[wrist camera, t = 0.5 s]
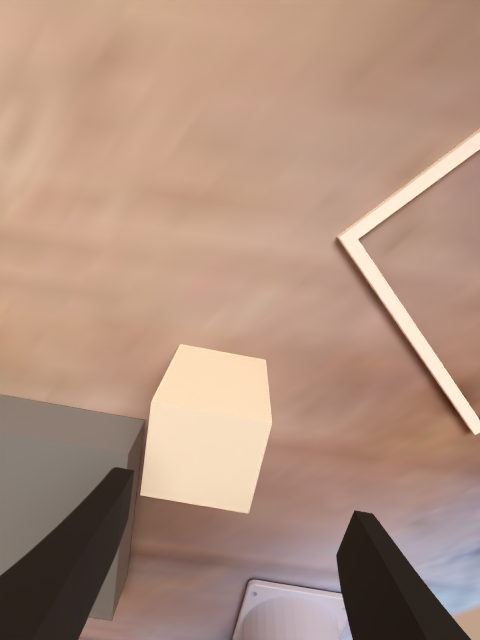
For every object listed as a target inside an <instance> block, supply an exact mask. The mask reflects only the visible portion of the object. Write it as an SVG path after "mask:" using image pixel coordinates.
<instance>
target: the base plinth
mask: <svg viewBox="0 0 480 640" xmlns="http://www.w3.org/2000/svg"><path fill="white" fill-rule="evenodd" d="M144 423H145V420H141V419H136V418H130V417H124V416H119V415H113V414H107V413H101V412H96V411H90V410H84V409H79V408H73V407H67V406H62V405H56V404H50V403H45V402H39V401H33V400H28V399H22V398H16V397H11V396H5V395H0V575H2V574H3V573H4V572H5V571H7V570H8V569H9V568H10V567H11V566H13V565H14V564H15V563H16V562H17V561H19V560H20V559H21V558H22V557H23V556H24V555H26V554H27V553H28V552H29V551H30V550H31V549H32V548H34V547H35V546H36V545H37V544H38V543H39V542H40V541H41V540H42V539H44V538H45V537H46V536H47V535H48V534H49V533H50V532H51V531H52V530H53V529H55V528H56V527H57V526H58V525H59V524H60V523H61V522H62V521H63V520H64V519H65V518H66V517H67V516H68V515H69V514H70V513H71V512H72V511H73V510H74V509H75V508H76V507H77V506H78V505H79V504H80V503H81V502H82V501H83V500H84V499H85V498H86V497H87V496H88V495H89V494H90V493H91V492H92V491H93V490H94V488H95V487H96V486H97V485H98V484H99V483H100V482H101V481H102V480H103V478H104V477H105V476H106V475H107V474H108V473H109V471H110V470H111V469H113V468H114V467H119V468H124V469H130V470H134V477H133V485H132V493H131V501H130V509H129V517H128V521H127V524H126V527H125V530H124V533H123V536H122V539H121V542H120V545H119V547H118V550H117V553H116V556H115V558H114V560H113V563H112V565H111V567H110V569H109V572H108V574H107V576H106V578H105V581H104V583H103V585H102V587H101V590H100V592H99V594H98V596H97V598H96V601H95V603H94V605H93V607H92V610H91V612H90V614H89V616H88V617H90V618H97V619H103V620H110V621H112V619H113V616H114V613H115V610H116V607H117V604H118V601H119V598H120V595H121V592H122V589H123V586H124V583H125V580H126V577H127V573H128V564H129V556H130V547H131V538H132V529H133V520H134V511H135V503H136V494H137V485H138V476H139V467H140V459H141V450H142V441H143V432H144Z"/></svg>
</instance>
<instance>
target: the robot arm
mask: <svg viewBox="0 0 480 640" xmlns="http://www.w3.org/2000/svg"><path fill="white" fill-rule="evenodd" d="M133 477H134V470H130V469H124V468H119V467H114V468H113V469H111V470H110V471H109V473H108V474H107V475H106V476H105V477H104V478H103V480H102V481H101V482H100V483H99V484H98V485H97V486H96V487H95V488H94V490H93V491H92V492H91V493H90V494H89V495H88V496H87V497H86V498H85V499H84V500H83V501H82V502H81V503H80V504H79V505H78V506H77V507H76V508H75V509H74V510H73V511H72V512H71V513H70V514H69V515H68V516H67V517H66V518H65V519H64V520H63V521H62V522H61V523H60V524H59V525H58V526H57V527H56V528H55V529H53V530H52V531H51V532H50V533H49V534H48V535H47V536H46V537H45V538H44V539H42V540H41V541H40V542H39V543H38V544H37V545H36V546H35V547H34V548H32V549H31V550H30V551H29V552H28V553H27V554H26V555H24V556H23V557H22V558H21V559H20V560H19V561H17V562H16V563H15V564H14V565H13V566H11V567H10V568H9V569H8V570H7V571H5V572H4V573H3V574H2V575H0V640H78V639H79V636H80V634H81V632H82V630H83V627H84V625H85V623H86V621H87V618H88V616H89V614H90V612H91V610H92V607H93V605H94V603H95V601H96V598H97V596H98V594H99V592H100V590H101V587H102V585H103V583H104V581H105V578H106V576H107V574H108V572H109V569H110V567H111V565H112V563H113V560H114V558H115V556H116V553H117V550H118V547H119V545H120V542H121V539H122V536H123V533H124V530H125V527H126V524H127V521H128V517H129V509H130V501H131V493H132V485H133ZM336 557H337V565H338V572H339V579H340V586H341V593H342V594H341V593H335V592H329V591H322V590H316V589H310V588H304V587H298V586H292V585H285V584H279V583H273V582H267V581H261V580H251V581H249V583H248V585H247V589H246V592H245V596H244V600H243V603H242V607H241V610H240V614H239V617H238V621H237V624H236V628H235V631H234V635H233V638H232V640H341V638H340V635H341V632H342V630H343V628H344V626H345V623H346V621H347V619H348V622H349V626H350V630H351V634H352V638H353V640H471V639H470V638H469V637H468V635H467V634H466V633H465V632H464V631H463V630H462V628H461V627H460V626H459V625H458V624H457V622H456V621H455V620H454V619H453V618H452V616H451V615H450V614H449V613H448V611H447V610H446V609H445V608H444V607H443V605H442V604H441V603H440V602H439V600H438V599H437V598H436V597H435V595H434V594H433V593H432V592H431V590H430V589H429V588H428V587H427V585H426V584H425V583H424V581H423V580H422V579H421V578H420V576H419V575H418V574H417V572H416V571H415V570H414V568H413V567H412V566H411V564H410V563H409V562H408V560H407V559H406V558H405V556H404V555H403V554H402V552H401V551H400V550H399V548H398V547H397V546H396V544H395V543H394V541H393V540H392V539H391V537H390V536H389V535H388V533H387V532H386V531H385V529H384V528H383V526H382V525H381V524H380V522H379V521H378V520H377V519H376V517H375V516H374V515H373V514H372V513H366V512H361V511H354V513H353V516H352V518H351V520H350V523H349V525H348V528H347V530H346V533H345V535H344V538H343V540H342V542H341V545H340V547H339V550H338V552H337V555H336Z"/></svg>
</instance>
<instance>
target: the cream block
mask: <svg viewBox="0 0 480 640" xmlns="http://www.w3.org/2000/svg"><path fill="white" fill-rule="evenodd" d="M271 425H272V416H271V406H270V397H269V387H268V377H267V367H266V360H264V359H258V358H253V357H247V356H242V355H236V354H231V353H226V352H220V351H215V350H209V349H204V348H198V347H193V346H188V345H182V344H180V346H179V348H178V349H177V351H176V353H175V355H174V357H173V359H172V361H171V363H170V365H169V367H168V369H167V371H166V373H165V375H164V377H163V379H162V381H161V383H160V385H159V387H158V389H157V391H156V393H155V395H154V397H153V399H152V401H151V409H150V417H149V426H148V434H147V443H146V451H145V460H144V468H143V477H142V485H141V493H140V495H141V496H147V497H153V498H159V499H165V500H171V501H177V502H183V503H189V504H195V505H201V506H207V507H213V508H219V509H225V510H231V511H237V512H243V513H249V510H250V506H251V502H252V498H253V495H254V491H255V487H256V483H257V479H258V475H259V472H260V468H261V464H262V460H263V456H264V452H265V449H266V445H267V441H268V437H269V433H270V429H271Z"/></svg>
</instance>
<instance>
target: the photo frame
mask: <svg viewBox="0 0 480 640" xmlns="http://www.w3.org/2000/svg"><path fill="white" fill-rule="evenodd" d="M479 149H480V129H479V130H477V131H476V132H475V133H474V134H472V135H471V136H470V137H468V138H467V139H466V140H464V141H463V142H462V143H460V144H459V145H458V146H456V147H455V148H454V149H452V150H451V151H450V152H448V153H447V154H446V155H444V156H443V157H442V158H440V159H439V160H438V161H436V162H435V163H434V164H432V165H431V166H430V167H428V168H427V169H426V170H424V171H423V172H422V173H420V174H419V175H418V176H416V177H415V178H414V179H412V180H411V181H410V182H409V183H407V184H406V185H405V186H403V187H402V188H401V189H399V190H398V191H397V192H395V193H394V194H393V195H391V196H390V197H389V198H387V199H386V200H385V201H383V202H382V203H381V204H379V205H378V206H377V207H375V208H374V209H373V210H371V211H370V212H369V213H367V214H366V215H365V216H363V217H362V218H361V219H359V220H358V221H357V222H355V223H354V224H353V225H351V226H350V227H349V228H347V229H346V230H345V231H344V232H342V233H341V234H340V235H338V236H337V238H338V239H339V241H340V242H341V244H342V245H343V247H344V248H345V249H346V251H347V252H348V254H349V255H350V257H351V258H352V260H353V261H354V263H355V264H356V265H357V267H358V268H359V270H360V271H361V273H362V274H363V276H364V277H365V278H366V280H367V281H368V283H369V284H370V286H371V287H372V289H373V290H374V292H375V293H376V294H377V296H378V297H379V299H380V300H381V302H382V303H383V305H384V306H385V307H386V309H387V310H388V312H389V313H390V315H391V316H392V318H393V319H394V320H395V322H396V323H397V325H398V326H399V328H400V329H401V331H402V332H403V334H404V335H405V336H406V338H407V339H408V341H409V342H410V344H411V345H412V347H413V348H414V349H415V351H416V352H417V354H418V355H419V357H420V358H421V360H422V361H423V363H424V364H425V365H426V367H427V368H428V370H429V371H430V373H431V374H432V376H433V377H434V378H435V380H436V381H437V383H438V384H439V386H440V387H441V389H442V390H443V392H444V393H445V394H446V396H447V397H448V399H449V400H450V402H451V403H452V405H453V406H454V407H455V409H456V410H457V412H458V413H459V415H460V416H461V418H462V419H463V420H464V422H465V423H466V425H467V426H468V428H469V429H470V430H471V431H472V432H473V433H474V434H475V435H476V434H478V433H480V420H479V418H478V417H477V415H476V414H475V412H474V411H473V409H472V408H471V406H470V405H469V403H468V402H467V400H466V399H465V397H464V396H463V395H462V393H461V392H460V390H459V389H458V387H457V386H456V384H455V383H454V381H453V380H452V378H451V377H450V375H449V374H448V372H447V371H446V369H445V368H444V366H443V365H442V363H441V362H440V360H439V359H438V357H437V356H436V354H435V353H434V351H433V350H432V349H431V347H430V346H429V344H428V343H427V341H426V340H425V338H424V337H423V335H422V334H421V332H420V331H419V329H418V328H417V326H416V325H415V323H414V322H413V320H412V319H411V317H410V316H409V314H408V313H407V311H406V310H405V308H404V307H403V306H402V304H401V303H400V301H399V300H398V298H397V297H396V295H395V294H394V292H393V291H392V289H391V288H390V286H389V285H388V283H387V282H386V280H385V279H384V277H383V276H382V274H381V273H380V271H379V270H378V268H377V267H376V265H375V264H374V262H373V261H372V260H371V258H370V257H369V255H368V254H367V252H366V251H365V249H364V248H363V246H362V245H361V243H360V242H359V240H358V239H359V238H360V237H362V236H363V235H364V234H366V233H367V232H368V231H370V230H371V229H372V228H374V227H375V226H377V225H378V224H379V223H381V222H382V221H383V220H385V219H386V218H387V217H389V216H390V215H391V214H393V213H394V212H395V211H397V210H398V209H399V208H401V207H402V206H404V205H405V204H406V203H408V202H409V201H410V200H412V199H413V198H414V197H416V196H417V195H418V194H420V193H421V192H422V191H424V190H425V189H426V188H428V187H429V186H431V185H432V184H433V183H435V182H436V181H437V180H439V179H440V178H441V177H443V176H444V175H445V174H447V173H448V172H449V171H451V170H452V169H454V168H455V167H456V166H458V165H459V164H460V163H462V162H463V161H464V160H466V159H467V158H468V157H470V156H471V155H472V154H474V153H475V152H476V151H478V150H479Z"/></svg>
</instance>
